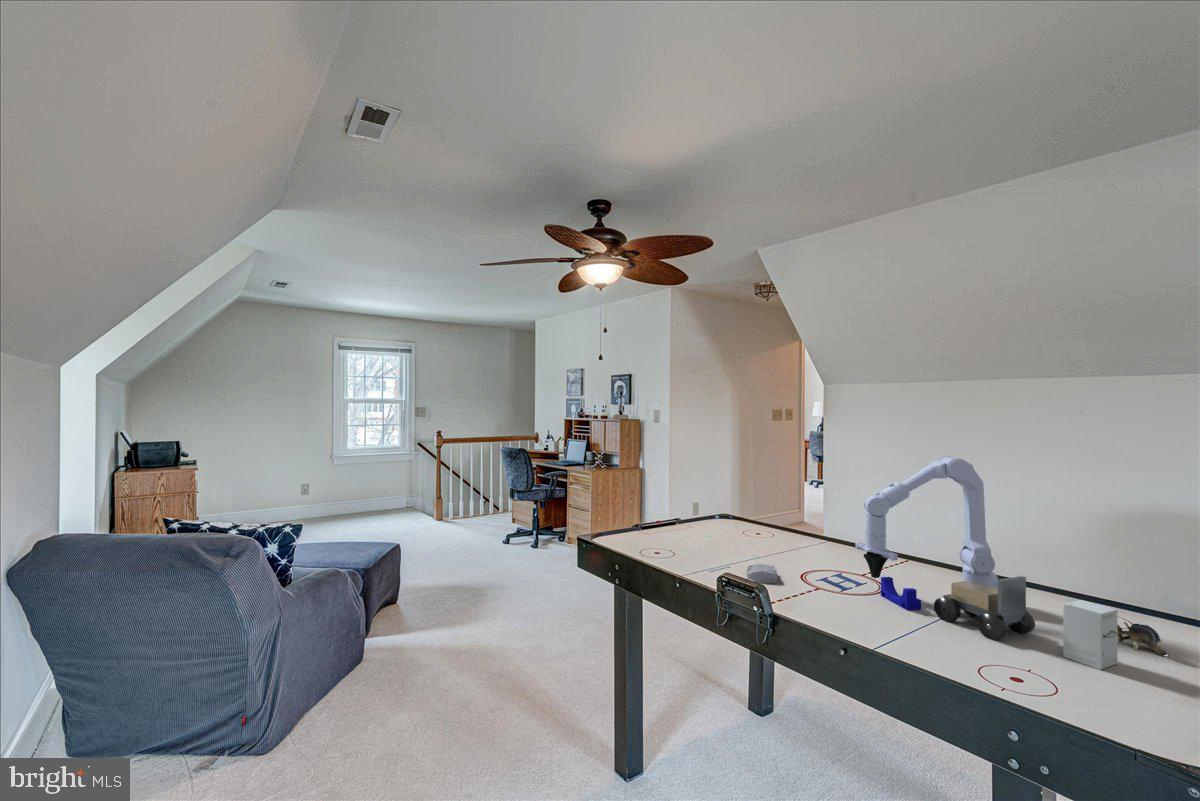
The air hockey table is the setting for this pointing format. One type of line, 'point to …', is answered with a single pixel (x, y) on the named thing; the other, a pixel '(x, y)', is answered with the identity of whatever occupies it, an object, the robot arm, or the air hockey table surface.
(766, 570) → the stone block
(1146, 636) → the brown animal figurine
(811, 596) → the air hockey table surface
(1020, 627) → the trolley
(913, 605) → the cable clip
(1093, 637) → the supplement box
